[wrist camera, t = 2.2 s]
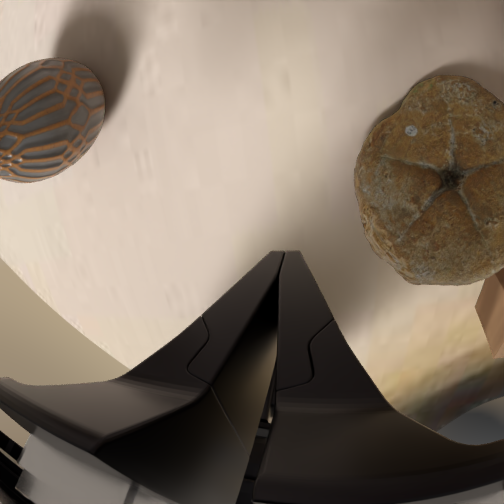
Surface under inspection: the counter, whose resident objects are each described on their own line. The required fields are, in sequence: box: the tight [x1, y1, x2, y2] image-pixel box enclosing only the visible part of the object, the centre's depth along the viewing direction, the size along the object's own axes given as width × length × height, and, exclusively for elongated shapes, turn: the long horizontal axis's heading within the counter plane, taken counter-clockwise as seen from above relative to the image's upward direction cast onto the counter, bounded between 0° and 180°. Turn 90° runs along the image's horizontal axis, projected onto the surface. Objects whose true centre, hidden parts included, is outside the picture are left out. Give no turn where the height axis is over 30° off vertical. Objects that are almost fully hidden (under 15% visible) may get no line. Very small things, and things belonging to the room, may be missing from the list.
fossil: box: [354, 75, 504, 286], centre depth 12 cm, size 9×4×10 cm
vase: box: [0, 58, 105, 183], centre depth 12 cm, size 7×7×9 cm
